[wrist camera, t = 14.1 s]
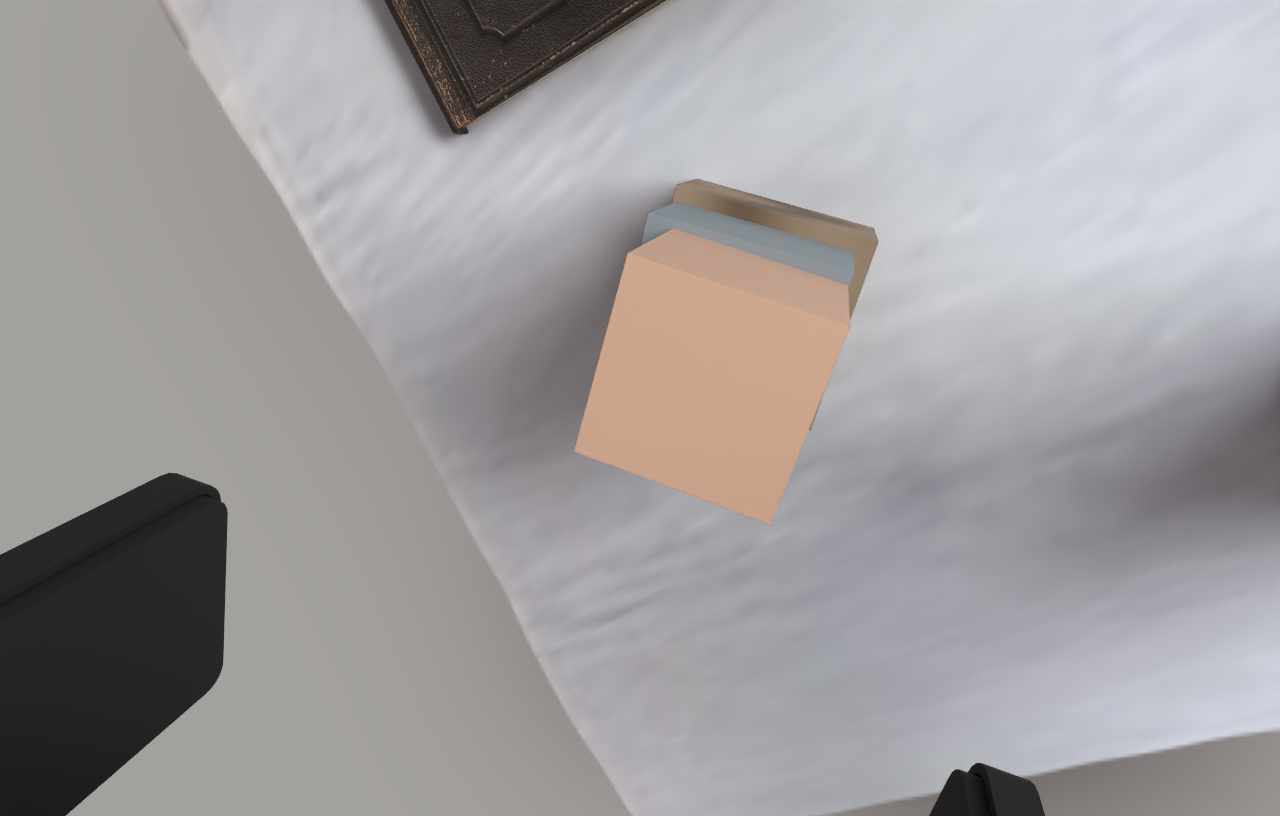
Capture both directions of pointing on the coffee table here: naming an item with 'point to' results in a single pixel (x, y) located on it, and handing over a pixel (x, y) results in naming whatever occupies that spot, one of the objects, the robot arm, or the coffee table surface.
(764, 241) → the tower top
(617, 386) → the terracotta cube
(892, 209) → the coffee table surface
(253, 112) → the coffee table surface
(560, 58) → the hardcover book
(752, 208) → the tower bottom
